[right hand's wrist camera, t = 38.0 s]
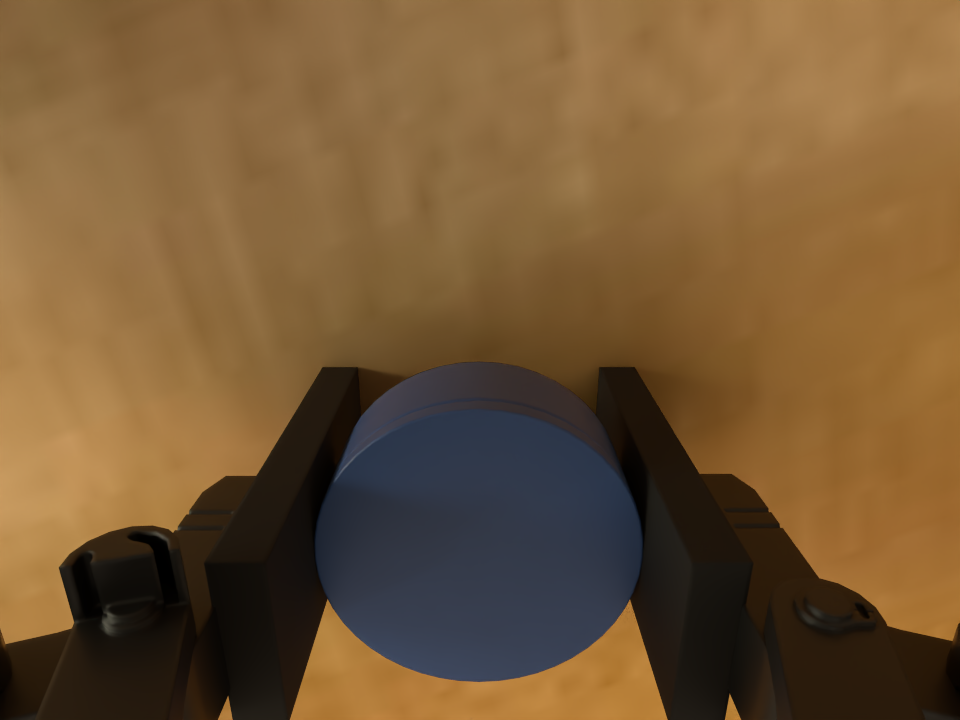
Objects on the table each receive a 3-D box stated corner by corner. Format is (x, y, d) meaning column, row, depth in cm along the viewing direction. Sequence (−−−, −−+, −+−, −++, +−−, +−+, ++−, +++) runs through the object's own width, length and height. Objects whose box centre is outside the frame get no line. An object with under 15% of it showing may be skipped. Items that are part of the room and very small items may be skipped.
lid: (547, 632, 13) (559, 717, 12) (303, 552, 13) (273, 628, 11) (669, 422, 12) (704, 481, 10) (395, 315, 11) (377, 357, 9)
